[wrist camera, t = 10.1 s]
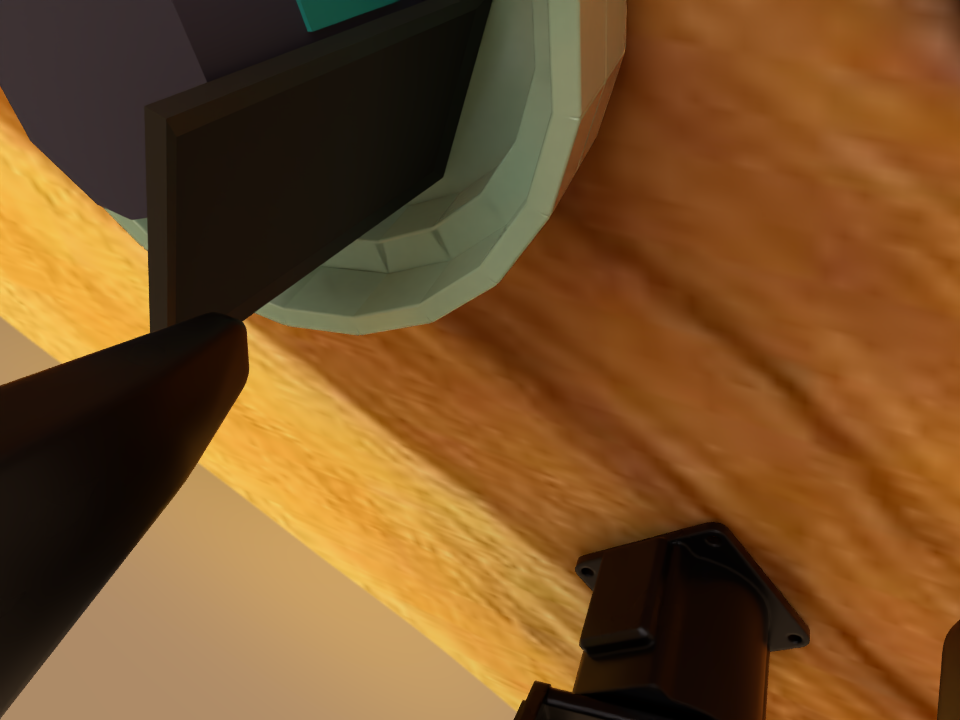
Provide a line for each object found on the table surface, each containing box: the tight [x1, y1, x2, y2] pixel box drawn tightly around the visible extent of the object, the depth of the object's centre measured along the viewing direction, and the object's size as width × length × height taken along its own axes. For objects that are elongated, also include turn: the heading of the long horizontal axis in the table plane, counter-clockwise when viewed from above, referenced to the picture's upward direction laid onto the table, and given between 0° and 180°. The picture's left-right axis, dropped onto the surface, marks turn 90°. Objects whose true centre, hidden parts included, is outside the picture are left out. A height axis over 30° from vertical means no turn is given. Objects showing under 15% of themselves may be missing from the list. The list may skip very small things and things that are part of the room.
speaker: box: [0, 0, 492, 333], centre depth 16 cm, size 8×6×10 cm
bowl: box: [103, 0, 627, 335], centre depth 18 cm, size 14×14×5 cm
